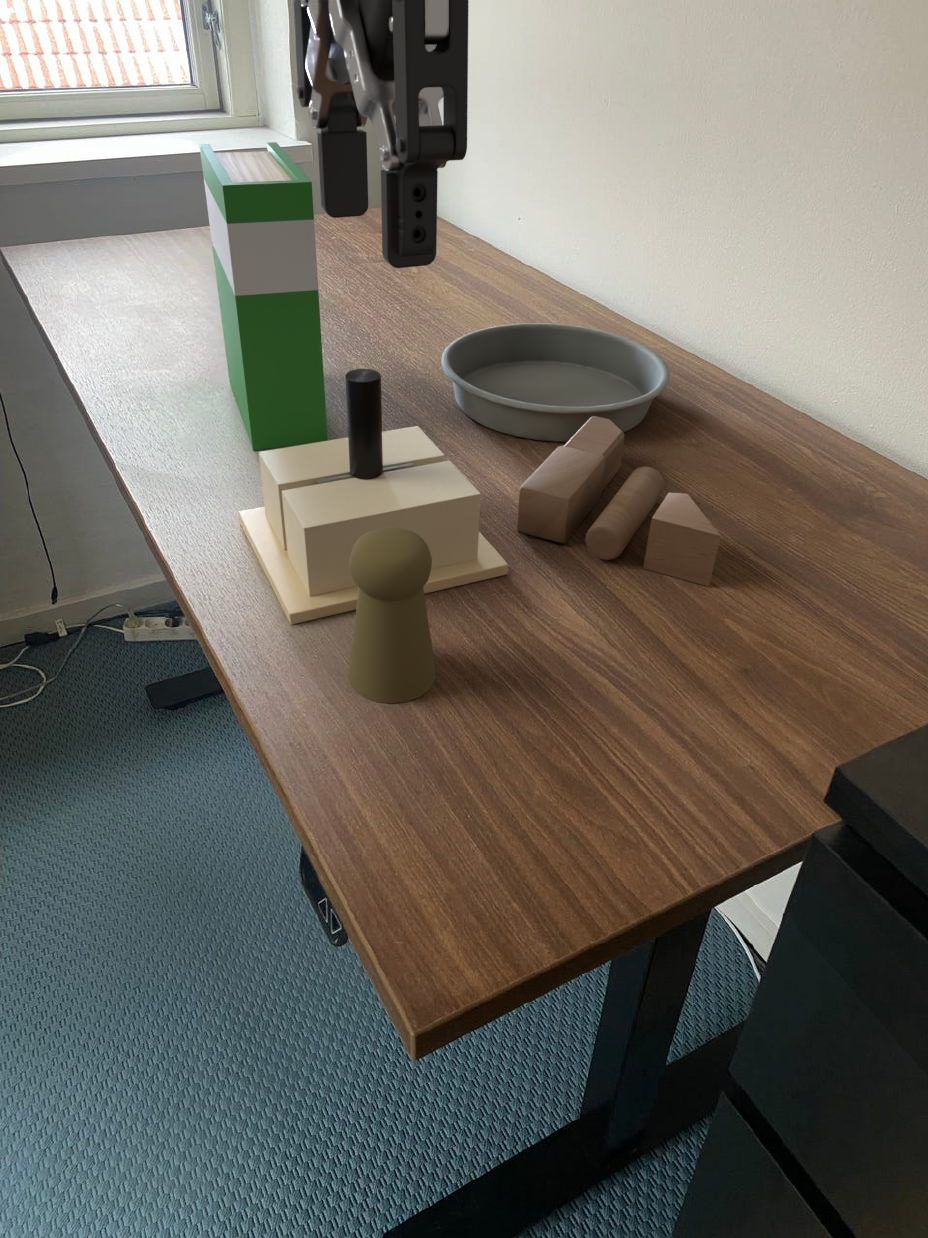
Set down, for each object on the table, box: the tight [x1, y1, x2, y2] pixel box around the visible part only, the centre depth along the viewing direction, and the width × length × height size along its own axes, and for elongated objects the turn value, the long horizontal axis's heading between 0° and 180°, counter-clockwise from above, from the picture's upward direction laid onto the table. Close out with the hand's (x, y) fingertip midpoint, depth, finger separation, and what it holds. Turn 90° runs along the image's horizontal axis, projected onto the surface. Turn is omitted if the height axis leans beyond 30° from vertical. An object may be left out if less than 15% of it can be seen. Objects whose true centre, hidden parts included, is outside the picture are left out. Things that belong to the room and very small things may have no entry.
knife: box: [317, 368, 414, 484], centre depth 72 cm, size 8×3×14 cm, turn 115°
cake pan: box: [440, 322, 671, 443], centre depth 101 cm, size 25×25×4 cm
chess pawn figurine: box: [348, 527, 437, 704], centre depth 61 cm, size 6×6×11 cm
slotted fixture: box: [237, 425, 509, 625], centre depth 75 cm, size 18×16×7 cm
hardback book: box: [199, 141, 329, 451], centre depth 91 cm, size 18×7×24 cm, turn 19°
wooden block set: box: [516, 416, 721, 587], centre depth 81 cm, size 17×6×18 cm
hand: (375, 238), depth 43 cm, fingers open, 8 cm apart
